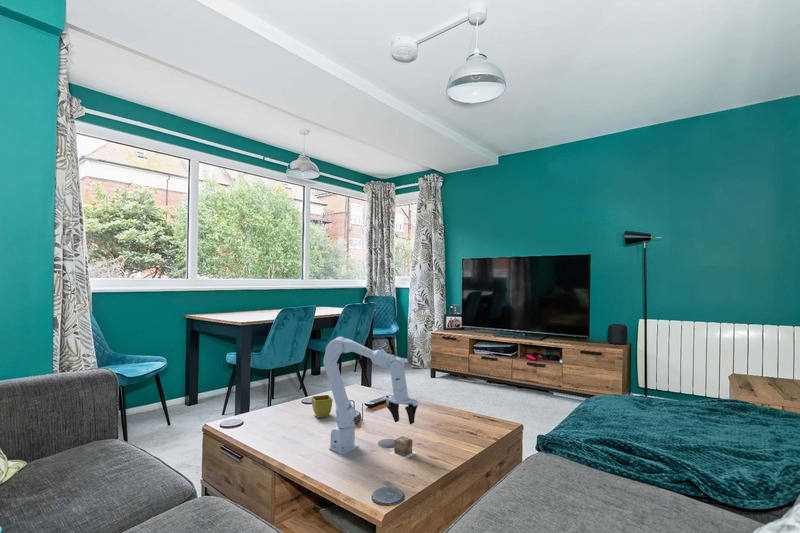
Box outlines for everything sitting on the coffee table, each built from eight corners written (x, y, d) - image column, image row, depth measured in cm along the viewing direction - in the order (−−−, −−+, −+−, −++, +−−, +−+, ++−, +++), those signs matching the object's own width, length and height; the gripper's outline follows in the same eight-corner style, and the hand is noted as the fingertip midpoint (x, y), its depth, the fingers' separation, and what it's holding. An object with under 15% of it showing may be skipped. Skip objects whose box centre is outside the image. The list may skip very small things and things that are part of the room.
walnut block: (404, 456, 153) (404, 443, 153) (394, 453, 156) (394, 439, 156) (412, 452, 157) (412, 439, 157) (402, 448, 160) (402, 436, 160)
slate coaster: (390, 450, 158) (390, 449, 158) (373, 444, 164) (373, 443, 164) (404, 443, 165) (404, 442, 165) (387, 438, 171) (387, 437, 171)
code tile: (405, 460, 150) (405, 459, 150) (388, 454, 155) (388, 453, 156) (417, 453, 157) (417, 452, 157) (401, 447, 162) (401, 446, 162)
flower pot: (310, 414, 199) (311, 396, 200) (327, 412, 203) (328, 394, 203) (314, 420, 191) (315, 401, 192) (332, 417, 195) (333, 399, 195)
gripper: (420, 386, 158) (424, 420, 158) (392, 384, 167) (396, 417, 167) (409, 391, 153) (414, 427, 152) (381, 389, 162) (385, 423, 161)
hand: (404, 422), depth 159 cm, fingers open, 7 cm apart
